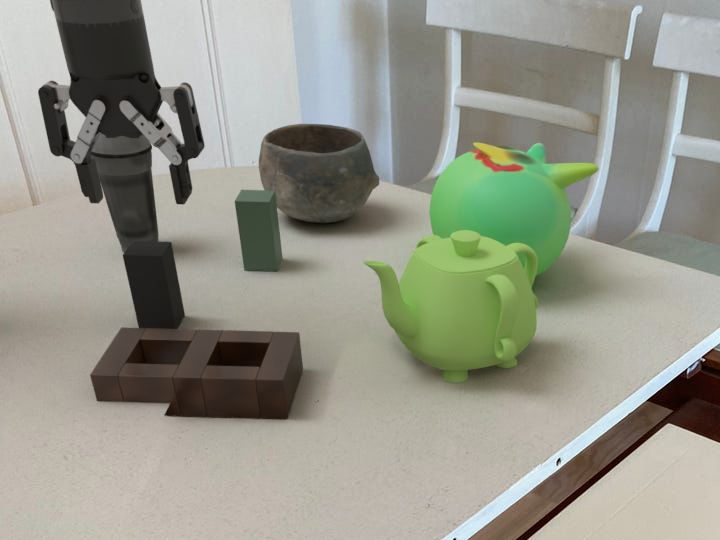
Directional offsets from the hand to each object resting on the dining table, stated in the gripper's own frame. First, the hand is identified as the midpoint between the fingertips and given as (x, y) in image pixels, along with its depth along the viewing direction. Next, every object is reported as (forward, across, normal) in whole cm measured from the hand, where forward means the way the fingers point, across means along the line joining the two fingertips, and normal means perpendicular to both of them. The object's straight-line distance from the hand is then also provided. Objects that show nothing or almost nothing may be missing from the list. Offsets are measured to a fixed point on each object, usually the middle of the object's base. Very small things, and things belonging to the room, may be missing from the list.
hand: (139, 201), depth 97 cm
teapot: (+13, -32, +7) cm, 35 cm away
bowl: (+13, -13, -34) cm, 38 cm away
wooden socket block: (+13, -8, +15) cm, 21 cm away
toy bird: (+13, -37, -16) cm, 42 cm away
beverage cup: (+13, +8, -21) cm, 26 cm away
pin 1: (+13, 0, 0) cm, 13 cm away
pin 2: (+13, -8, -17) cm, 22 cm away
